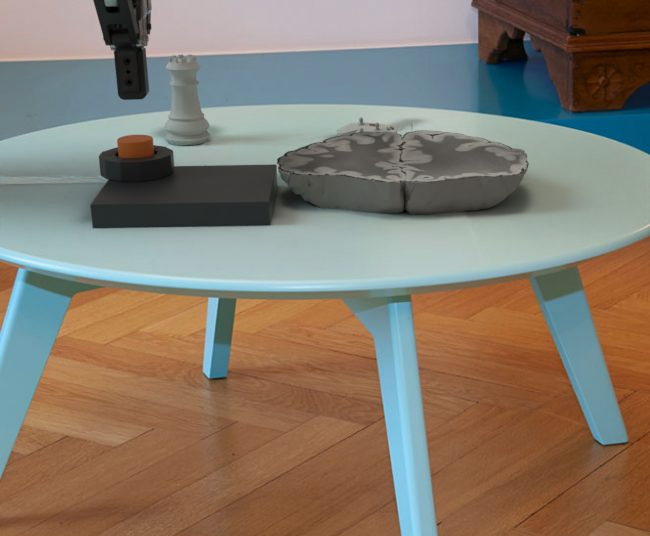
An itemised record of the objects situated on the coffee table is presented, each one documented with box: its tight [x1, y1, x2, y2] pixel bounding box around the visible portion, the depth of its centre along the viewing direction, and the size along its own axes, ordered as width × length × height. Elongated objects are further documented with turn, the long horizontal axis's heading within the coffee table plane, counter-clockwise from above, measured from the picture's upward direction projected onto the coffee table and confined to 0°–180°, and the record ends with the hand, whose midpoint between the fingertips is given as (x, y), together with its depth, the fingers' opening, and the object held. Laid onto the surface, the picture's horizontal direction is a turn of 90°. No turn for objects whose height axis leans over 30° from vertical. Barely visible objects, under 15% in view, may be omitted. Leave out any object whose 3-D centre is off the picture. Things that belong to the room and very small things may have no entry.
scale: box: [89, 144, 278, 229], centre depth 88 cm, size 14×12×4 cm
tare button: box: [116, 134, 154, 158], centre depth 90 cm, size 3×3×2 cm
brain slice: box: [276, 129, 529, 215], centre depth 91 cm, size 20×17×3 cm
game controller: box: [335, 116, 413, 136], centre depth 107 cm, size 6×12×3 cm, turn 166°
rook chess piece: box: [163, 54, 212, 146], centre depth 108 cm, size 4×4×8 cm
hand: (134, 97), depth 88 cm, fingers closed
